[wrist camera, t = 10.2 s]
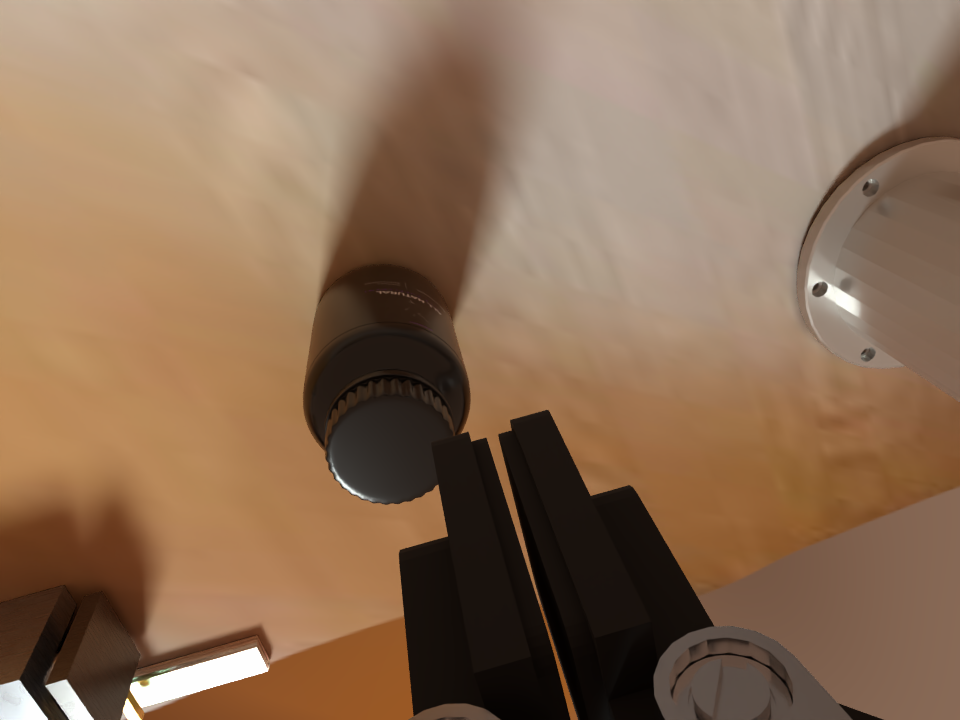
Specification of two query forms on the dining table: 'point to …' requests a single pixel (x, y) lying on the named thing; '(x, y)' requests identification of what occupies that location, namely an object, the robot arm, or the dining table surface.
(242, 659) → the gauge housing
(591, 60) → the dining table surface
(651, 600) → the robot arm
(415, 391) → the supplement bottle
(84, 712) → the plunger
